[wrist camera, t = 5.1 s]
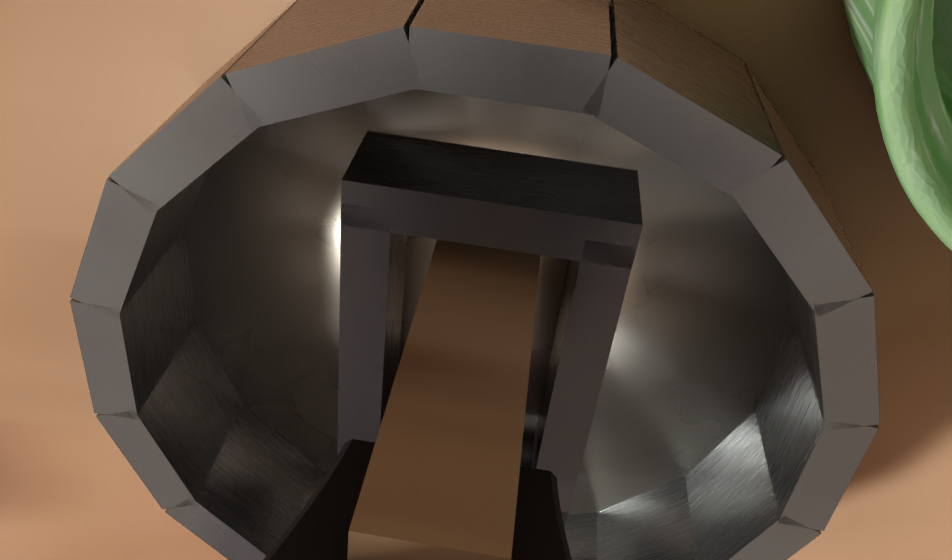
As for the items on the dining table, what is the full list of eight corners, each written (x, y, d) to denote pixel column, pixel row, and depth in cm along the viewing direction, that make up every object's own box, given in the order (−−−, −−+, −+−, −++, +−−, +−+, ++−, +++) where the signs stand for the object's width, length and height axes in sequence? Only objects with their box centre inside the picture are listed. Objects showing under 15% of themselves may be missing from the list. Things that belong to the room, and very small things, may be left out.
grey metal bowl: (717, 552, 20) (737, 691, 17) (196, 467, 21) (132, 589, 18) (944, 26, 13) (1045, 118, 10) (125, -90, 13) (-3, -33, 10)
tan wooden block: (506, 436, 17) (466, 764, 12) (419, 421, 17) (339, 742, 12) (541, 250, 14) (510, 558, 9) (439, 233, 15) (349, 531, 9)
